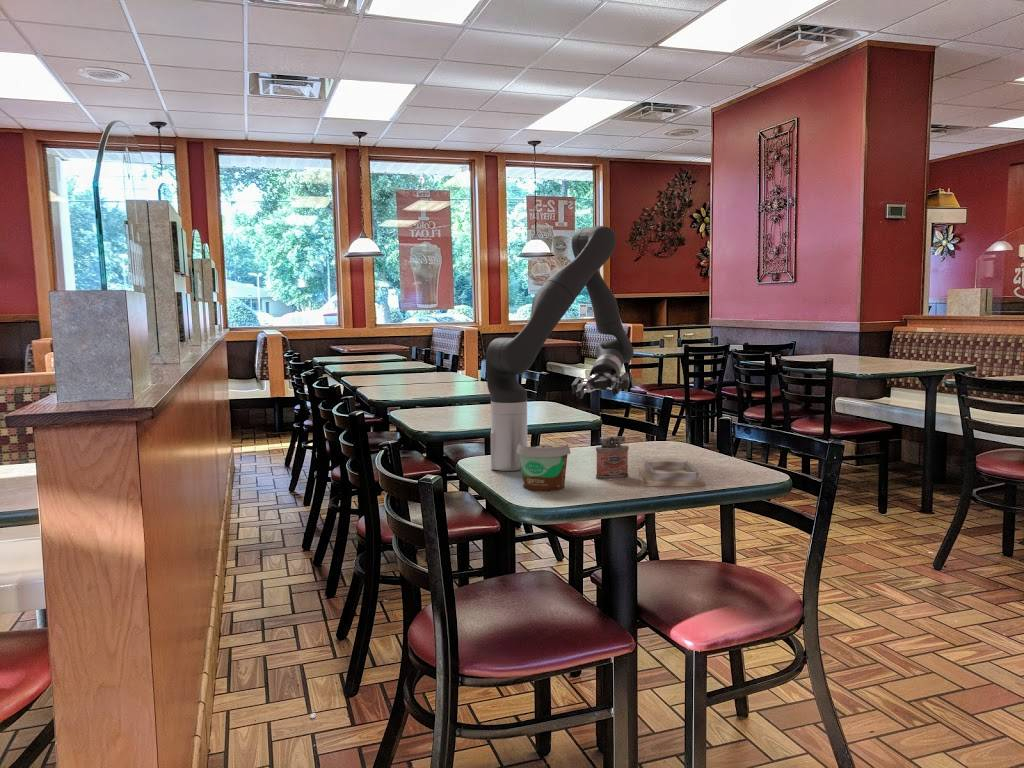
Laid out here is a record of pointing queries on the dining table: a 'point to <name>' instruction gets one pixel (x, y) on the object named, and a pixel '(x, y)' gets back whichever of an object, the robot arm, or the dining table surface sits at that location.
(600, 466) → the lighter
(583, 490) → the dining table surface
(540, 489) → the food container
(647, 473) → the tray
